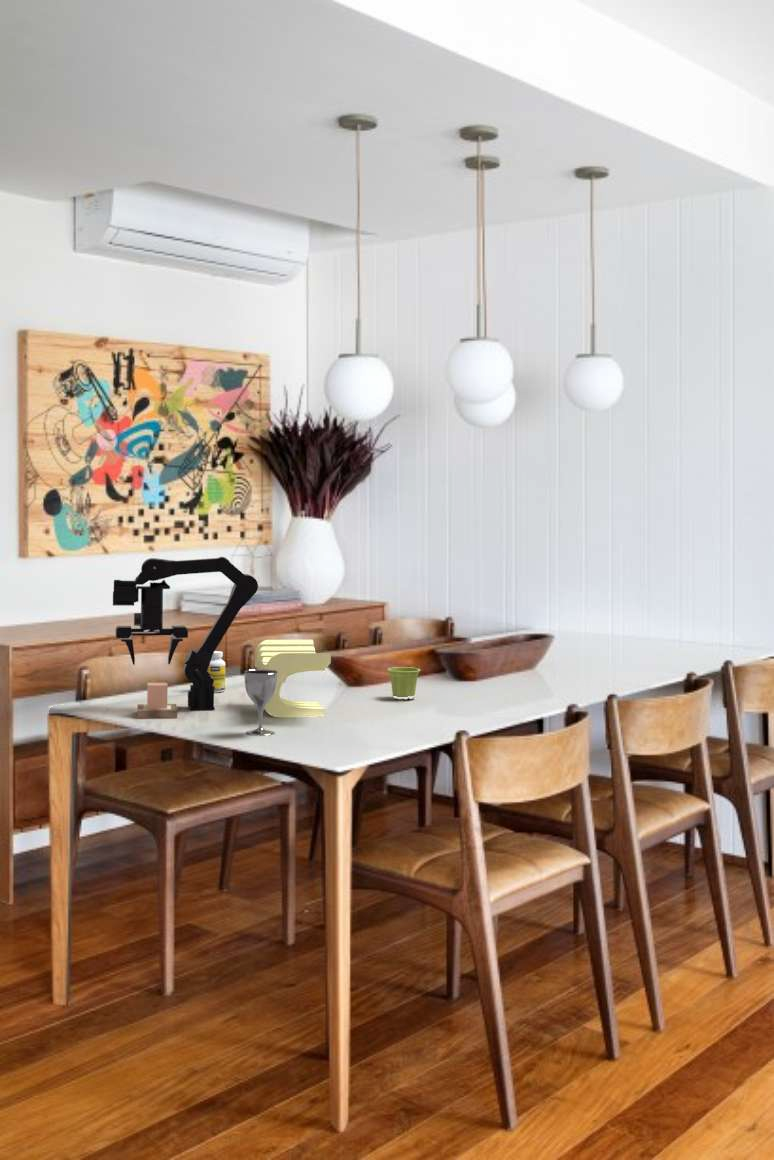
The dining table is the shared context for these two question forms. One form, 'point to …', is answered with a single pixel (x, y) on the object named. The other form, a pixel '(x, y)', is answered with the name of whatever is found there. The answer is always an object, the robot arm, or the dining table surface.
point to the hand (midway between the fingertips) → (151, 664)
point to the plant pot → (403, 681)
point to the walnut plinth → (156, 711)
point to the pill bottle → (217, 671)
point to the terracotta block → (156, 695)
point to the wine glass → (260, 693)
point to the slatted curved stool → (290, 672)
